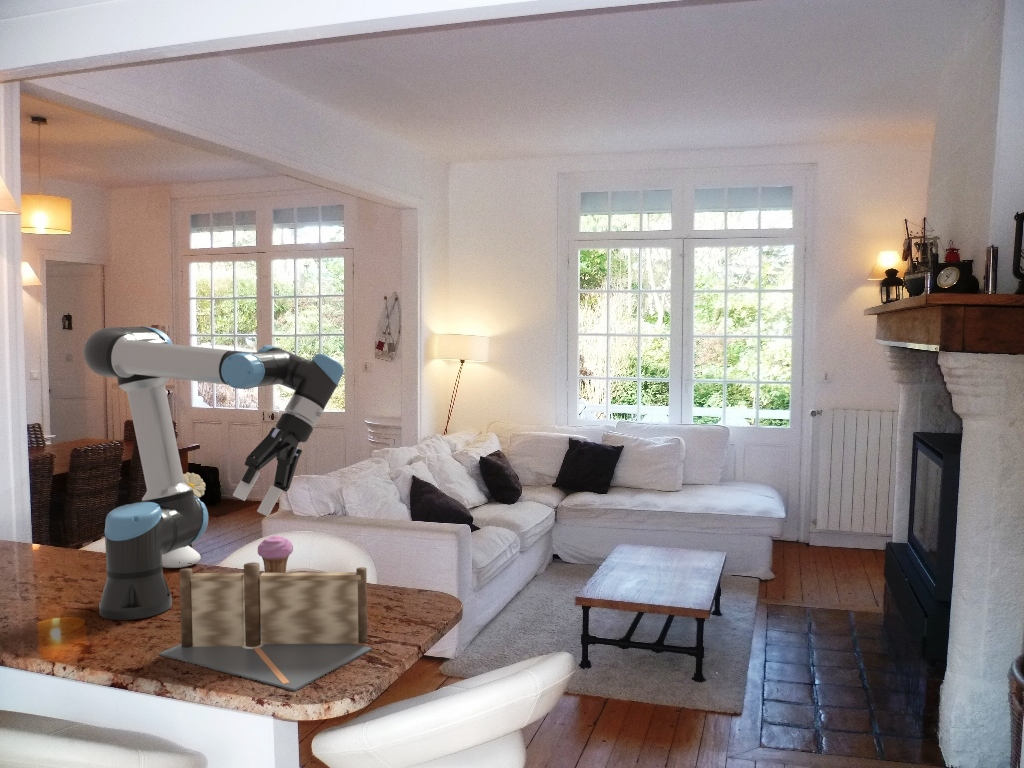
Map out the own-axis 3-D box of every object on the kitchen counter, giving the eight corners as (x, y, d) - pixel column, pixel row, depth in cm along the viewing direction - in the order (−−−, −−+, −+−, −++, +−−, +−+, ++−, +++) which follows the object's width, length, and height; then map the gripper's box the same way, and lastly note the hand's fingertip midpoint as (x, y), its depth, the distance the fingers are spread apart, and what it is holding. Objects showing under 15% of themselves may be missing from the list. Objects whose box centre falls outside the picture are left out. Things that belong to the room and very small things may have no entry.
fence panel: (261, 644, 173) (259, 570, 172) (263, 640, 175) (262, 567, 174) (366, 643, 174) (365, 570, 173) (367, 639, 176) (367, 567, 175)
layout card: (159, 654, 170) (159, 652, 170) (243, 620, 189) (243, 618, 189) (295, 691, 153) (295, 688, 153) (372, 649, 172) (371, 647, 172)
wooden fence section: (179, 648, 172) (177, 567, 171) (184, 642, 175) (182, 562, 174) (258, 647, 173) (257, 566, 171) (262, 641, 176) (261, 562, 174)
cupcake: (257, 580, 219) (257, 541, 218) (258, 570, 227) (257, 533, 227) (294, 577, 221) (293, 538, 221) (293, 568, 230) (292, 531, 229)
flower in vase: (155, 573, 224) (153, 478, 223) (154, 562, 235) (152, 471, 233) (209, 568, 230) (206, 474, 228) (205, 557, 240) (203, 468, 238)
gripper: (294, 405, 179) (243, 497, 173) (329, 443, 202) (285, 526, 196) (264, 392, 181) (212, 483, 174) (302, 432, 204) (257, 513, 197)
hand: (250, 506), depth 185 cm, fingers open, 13 cm apart
